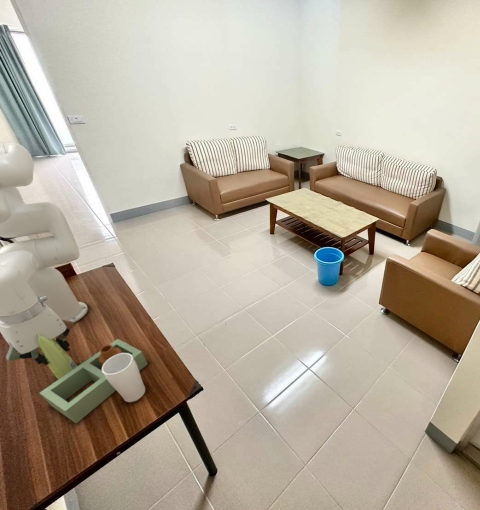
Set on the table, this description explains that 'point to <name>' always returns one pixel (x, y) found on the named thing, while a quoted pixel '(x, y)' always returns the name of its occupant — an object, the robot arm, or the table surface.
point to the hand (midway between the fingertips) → (55, 355)
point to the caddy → (80, 378)
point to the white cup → (124, 376)
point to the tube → (56, 357)
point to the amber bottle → (108, 353)
